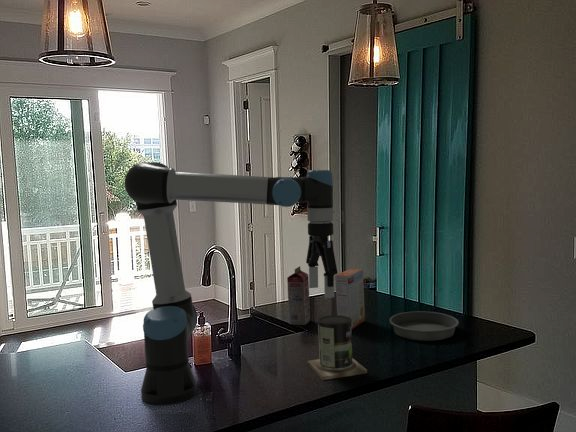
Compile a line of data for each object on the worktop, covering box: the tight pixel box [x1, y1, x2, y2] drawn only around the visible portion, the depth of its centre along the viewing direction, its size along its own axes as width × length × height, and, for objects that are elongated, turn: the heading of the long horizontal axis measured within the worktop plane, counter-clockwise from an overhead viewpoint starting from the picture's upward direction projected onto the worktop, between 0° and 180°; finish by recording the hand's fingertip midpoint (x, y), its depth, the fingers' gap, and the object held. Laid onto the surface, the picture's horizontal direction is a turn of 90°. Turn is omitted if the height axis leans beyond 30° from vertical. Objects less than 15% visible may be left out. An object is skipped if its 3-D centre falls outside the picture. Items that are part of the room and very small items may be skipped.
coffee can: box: [316, 314, 353, 371], centre depth 166 cm, size 10×10×14 cm
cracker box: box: [334, 268, 366, 331], centre depth 210 cm, size 14×6×21 cm, turn 149°
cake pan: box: [389, 310, 460, 342], centre depth 200 cm, size 25×25×4 cm
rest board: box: [307, 357, 368, 381], centre depth 167 cm, size 14×14×1 cm
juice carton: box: [286, 266, 311, 326], centre depth 217 cm, size 7×7×22 cm
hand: (321, 292), depth 164 cm, fingers open, 13 cm apart
